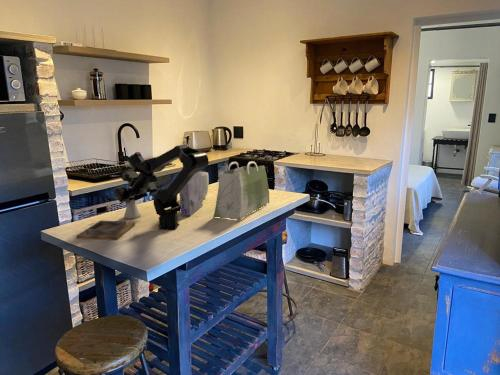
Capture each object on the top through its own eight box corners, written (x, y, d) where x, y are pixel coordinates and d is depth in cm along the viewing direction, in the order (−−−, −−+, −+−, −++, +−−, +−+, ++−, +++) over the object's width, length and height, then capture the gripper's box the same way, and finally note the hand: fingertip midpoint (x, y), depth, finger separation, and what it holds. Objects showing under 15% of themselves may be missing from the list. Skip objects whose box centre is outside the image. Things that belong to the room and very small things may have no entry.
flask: (135, 219, 160) (134, 197, 158) (120, 218, 162) (118, 196, 159) (143, 214, 167) (142, 193, 165) (129, 214, 169) (127, 192, 166)
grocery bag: (245, 200, 190) (245, 155, 185) (270, 203, 184) (270, 156, 179) (212, 217, 162) (210, 165, 157) (240, 222, 156) (239, 167, 151)
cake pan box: (194, 204, 183) (192, 169, 179) (204, 205, 182) (202, 169, 178) (179, 216, 165) (177, 177, 160) (190, 216, 164) (188, 177, 159)
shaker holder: (135, 225, 153) (134, 219, 152) (117, 239, 138) (116, 233, 137) (98, 224, 155) (97, 218, 154) (76, 238, 139) (75, 231, 139)
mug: (188, 194, 203) (186, 170, 200) (208, 193, 205) (207, 169, 202) (188, 201, 189) (186, 176, 186) (209, 200, 190) (208, 175, 187)
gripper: (151, 162, 164) (137, 183, 173) (114, 168, 149) (101, 191, 158) (164, 182, 161) (149, 202, 170) (127, 190, 147) (113, 212, 156)
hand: (129, 201), depth 164 cm, fingers closed on flask, 3 cm apart
